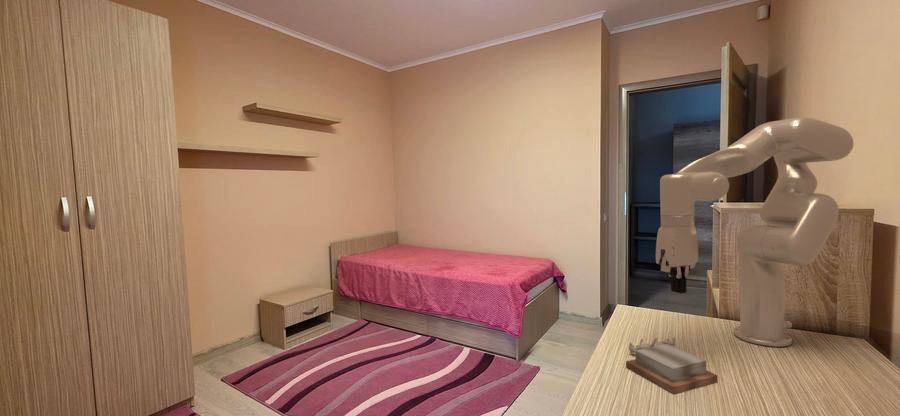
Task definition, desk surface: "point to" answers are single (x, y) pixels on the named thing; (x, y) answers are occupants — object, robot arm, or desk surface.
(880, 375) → the desk surface
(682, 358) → the tower pedestal
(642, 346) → the soldier figure
